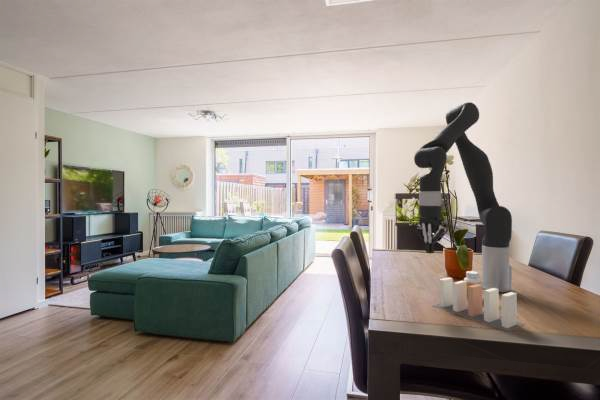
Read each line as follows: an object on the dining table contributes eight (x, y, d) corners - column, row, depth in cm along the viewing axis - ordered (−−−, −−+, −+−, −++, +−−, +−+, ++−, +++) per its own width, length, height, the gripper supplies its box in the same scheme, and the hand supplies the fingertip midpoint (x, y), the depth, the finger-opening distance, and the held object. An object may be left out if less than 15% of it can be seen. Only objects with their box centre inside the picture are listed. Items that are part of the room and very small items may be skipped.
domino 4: (483, 320, 96) (483, 290, 96) (493, 317, 98) (493, 287, 98) (489, 322, 94) (489, 291, 94) (498, 318, 97) (498, 289, 97)
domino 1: (439, 305, 109) (439, 279, 109) (448, 303, 111) (448, 277, 111) (443, 307, 107) (443, 280, 107) (452, 304, 110) (452, 278, 110)
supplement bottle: (460, 297, 119) (460, 270, 119) (474, 296, 119) (474, 270, 119) (469, 301, 114) (469, 274, 113) (484, 301, 114) (484, 273, 114)
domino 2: (452, 310, 104) (452, 282, 104) (462, 307, 107) (462, 280, 107) (457, 311, 103) (457, 283, 103) (466, 308, 106) (466, 281, 105)
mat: (432, 307, 109) (432, 306, 109) (448, 302, 113) (448, 301, 113) (508, 333, 88) (508, 331, 88) (524, 325, 93) (524, 324, 93)
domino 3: (468, 315, 100) (467, 286, 100) (477, 312, 103) (477, 283, 103) (473, 316, 99) (473, 287, 99) (482, 313, 101) (482, 285, 101)
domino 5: (501, 326, 92) (501, 294, 91) (510, 322, 94) (510, 291, 94) (507, 328, 90) (507, 296, 90) (516, 324, 93) (516, 293, 93)
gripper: (407, 204, 118) (407, 251, 118) (439, 205, 106) (439, 257, 107) (421, 203, 122) (421, 249, 122) (453, 204, 110) (453, 255, 111)
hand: (430, 253), depth 114 cm, fingers closed
